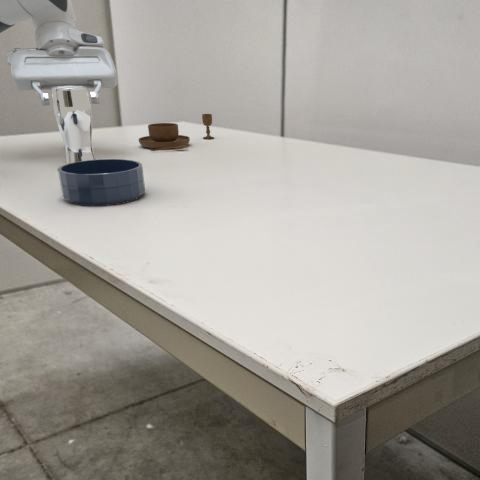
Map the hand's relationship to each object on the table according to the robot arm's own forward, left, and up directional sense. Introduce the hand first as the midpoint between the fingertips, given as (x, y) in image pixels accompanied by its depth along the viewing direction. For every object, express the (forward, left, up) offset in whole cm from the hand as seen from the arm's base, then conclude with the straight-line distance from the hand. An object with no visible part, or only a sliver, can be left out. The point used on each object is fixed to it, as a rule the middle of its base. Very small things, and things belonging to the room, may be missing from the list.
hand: (70, 102), depth 125 cm
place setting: (+21, +18, -12) cm, 30 cm away
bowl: (+9, -33, -12) cm, 36 cm away
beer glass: (+1, -4, -12) cm, 13 cm away
